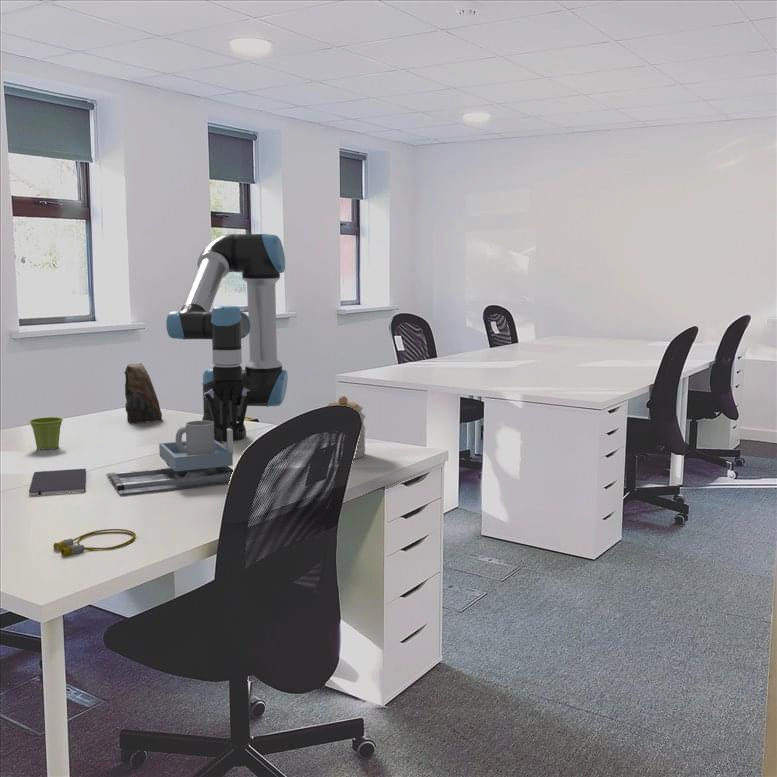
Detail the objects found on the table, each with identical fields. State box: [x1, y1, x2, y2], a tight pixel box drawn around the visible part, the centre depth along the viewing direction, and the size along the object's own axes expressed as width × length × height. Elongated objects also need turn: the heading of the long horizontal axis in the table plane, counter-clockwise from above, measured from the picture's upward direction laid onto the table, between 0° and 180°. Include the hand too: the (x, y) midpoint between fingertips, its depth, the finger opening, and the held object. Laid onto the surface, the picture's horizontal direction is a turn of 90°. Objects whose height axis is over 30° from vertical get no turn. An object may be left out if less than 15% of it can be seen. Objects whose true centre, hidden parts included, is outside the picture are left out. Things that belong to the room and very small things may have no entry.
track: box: [106, 466, 234, 497], centre depth 216 cm, size 30×22×2 cm
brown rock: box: [123, 362, 163, 424], centre depth 300 cm, size 13×13×20 cm
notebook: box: [28, 468, 87, 496], centre depth 211 cm, size 13×2×21 cm
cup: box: [175, 420, 215, 456], centre depth 218 cm, size 7×10×9 cm
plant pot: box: [28, 416, 64, 451], centre depth 252 cm, size 9×9×9 cm
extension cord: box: [53, 528, 137, 558], centre depth 166 cm, size 12×16×2 cm
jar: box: [326, 395, 366, 460], centre depth 244 cm, size 13×13×18 cm
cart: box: [158, 440, 234, 477], centre depth 218 cm, size 15×19×6 cm
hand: (229, 453), depth 222 cm, fingers closed
